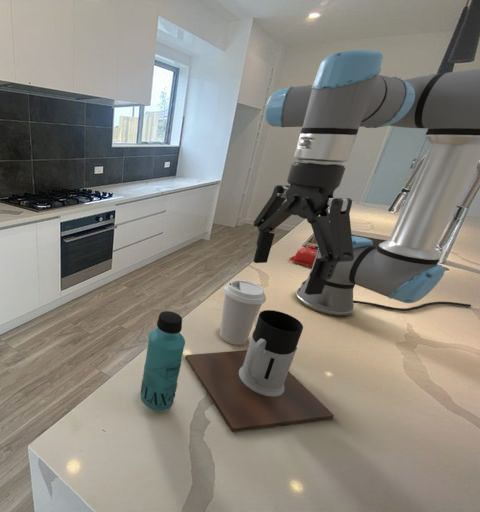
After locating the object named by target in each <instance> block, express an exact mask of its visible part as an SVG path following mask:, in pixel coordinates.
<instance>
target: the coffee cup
mask: <svg viewBox="0 0 480 512" xmlns="http://www.w3.org/2000/svg"><path fill="white" fill-rule="evenodd" d="M223 293H224V298H223V305H222V313H221V321H220V328H219V337H220V338H221V339H222V340H223V341H225V342H226V343H227V344H231V345H234V346H242V345H243V346H244V345H245V344H246V342H247V341H248V338H249V335H250V334H251V331H252V329H253V326H254V323H255V321H256V318H258V315H259V313H260V309H261V308H262V305H263V304H264V303H265V302H266V300H267V297H266V293H265V289H264V288H263V287H262V286H261V285H259V284H257V283H255V282H252V281H249V280H244V279H232V280H230V281H229V282H228V283H227V284H226V285H225V286H224V288H223Z"/></svg>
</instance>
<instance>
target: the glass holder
mask: <svg viewBox="0 0 480 512" xmlns="http://www.w3.org/2000/svg"><path fill="white" fill-rule="evenodd" d="M303 330H304V325H303V324H302V322H301V321H300V320H299V319H297V318H296V317H295V316H292V315H290V314H288V313H286V312H283V311H280V310H279V311H278V310H273V309H265V310H262V311H259V313H258V316H257V320H256V324H255V327H254V330H253V332H252V333H251V337H250V341H249V344H248V348H247V350H248V351H247V354H246V357H245V361H244V364H243V366H242V367H241V368H240V370H239V377H240V379H241V380H242V382H243V383H244V384H245V385H246V386H247V387H249V388H250V389H251V390H253V391H255V392H257V393H259V394H262V395H265V396H271V397H273V396H279V395H281V394H283V392H284V389H285V388H284V382H285V379H286V377H287V374H288V371H289V372H290V368H291V366H292V364H293V360H294V357H295V355H296V352H297V350H298V343H299V341H300V339H301V335H302V333H303Z"/></svg>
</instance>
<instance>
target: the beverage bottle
mask: <svg viewBox="0 0 480 512" xmlns="http://www.w3.org/2000/svg"><path fill="white" fill-rule="evenodd" d="M182 327H183V317H182V316H181V315H180V314H178V313H177V312H174V311H171V310H170V311H169V310H166V311H161V312H160V313H159V314H158V318H157V321H156V327H155V328H153V329H152V330H151V331H150V332H149V333H148V342H147V348H146V355H145V362H144V365H143V370H142V371H143V372H142V379H141V386H140V395H139V396H140V399H141V402H142V403H143V405H144V406H145V407H146V408H147V409H150V410H151V411H154V412H166V411H168V410H169V409H170V408H171V407H172V406H173V405H174V400H175V399H176V392H177V389H178V388H177V387H178V380H179V376H180V375H179V374H180V372H181V367H182V361H183V359H182V358H183V353H184V348H185V346H186V339H185V338H184V336H183V334H182V333H181V331H182V330H183V329H182Z"/></svg>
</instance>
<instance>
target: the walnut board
mask: <svg viewBox="0 0 480 512" xmlns="http://www.w3.org/2000/svg"><path fill="white" fill-rule="evenodd" d="M247 351H248V349H245V350H232V351H231V350H230V351H220V352H219V351H218V352H209V353H207V352H205V353H195V354H185V358H184V359H185V361H186V362H187V364H188V365H189V367H190V369H191V370H192V372H193V373H194V375H195V376H196V378H197V379H198V381H199V382H200V384H201V386H202V387H203V388H204V390H205V392H206V393H207V395H208V396H209V398H210V400H211V402H212V403H213V404H214V406H215V408H216V409H217V411H218V413H219V414H220V416H221V417H222V419H223V420H224V422H225V424H226V425H227V426H228V428H229V430H230V431H231V432H232V433H236V432H244V431H252V430H259V429H267V428H275V427H281V426H289V425H295V424H296V425H297V424H305V423H312V422H320V421H326V420H327V421H328V420H332V419H333V418H334V416H335V415H334V414H333V412H331V411H330V410H329V408H328V407H326V405H324V403H322V402H321V401H320V400H319V399H318V398H317V396H315V395H314V394H313V393H312V392H311V391H310V390H308V388H307V387H305V385H303V384H302V382H300V380H299V379H297V377H295V376H294V375H293V374H292V373H291V372H290V370H289V371H288V374H287V377H286V379H285V382H284V388H285V389H284V392H283V394H281V395H279V396H273V397H271V396H265V395H262V394H259V393H257V392H255V391H253V390H251V389H250V388H249V387H247V386H246V385H245V384H244V383H243V382H242V380H241V379H240V377H239V370H240V368H241V367H242V366H243V364H244V361H245V357H246V354H247Z"/></svg>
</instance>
